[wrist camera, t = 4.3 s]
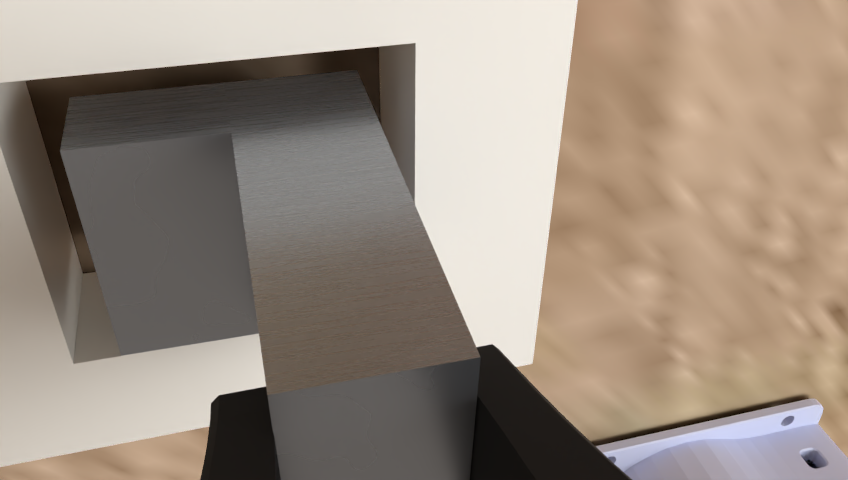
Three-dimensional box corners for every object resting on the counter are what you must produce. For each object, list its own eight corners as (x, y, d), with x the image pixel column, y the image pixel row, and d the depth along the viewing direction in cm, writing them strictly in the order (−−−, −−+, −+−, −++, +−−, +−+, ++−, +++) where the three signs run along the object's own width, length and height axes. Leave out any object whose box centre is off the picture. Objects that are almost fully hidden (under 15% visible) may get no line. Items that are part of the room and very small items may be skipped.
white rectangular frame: (526, -153, 16) (592, -120, 13) (491, 288, 22) (532, 364, 20) (-245, -121, 13) (-335, -71, 10) (-26, 376, 19) (-51, 477, 17)
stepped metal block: (356, 69, 15) (480, 357, 9) (363, 259, 18) (461, 571, 12) (70, 97, 14) (6, 441, 8) (124, 293, 17) (106, 655, 11)
